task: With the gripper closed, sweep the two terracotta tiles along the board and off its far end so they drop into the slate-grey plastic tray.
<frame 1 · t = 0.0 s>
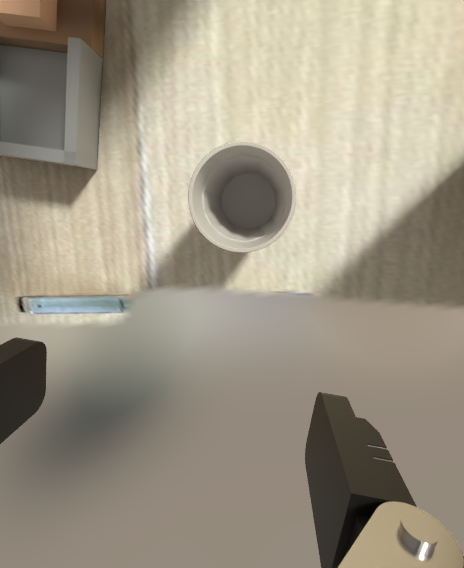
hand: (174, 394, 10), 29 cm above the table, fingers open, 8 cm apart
cup: (249, 201, 37), on the table
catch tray: (46, 108, 37), on the table
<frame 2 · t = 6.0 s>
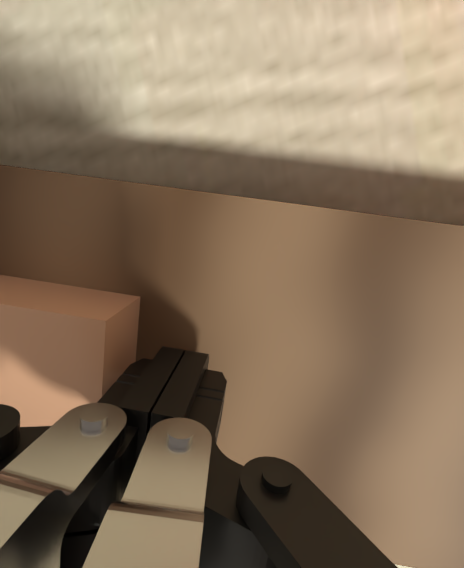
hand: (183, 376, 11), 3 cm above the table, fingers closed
tile a: (64, 355, 12), point 2 cm above the table, touching board, gripper
board: (186, 344, 14), on the table
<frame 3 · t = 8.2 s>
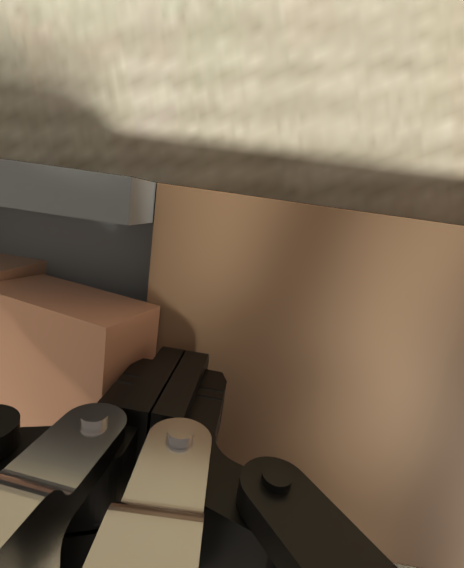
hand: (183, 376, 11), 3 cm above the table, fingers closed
tile a: (94, 355, 12), point 2 cm above the table, tilted 16°, touching board, gripper, tile b
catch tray: (34, 316, 15), on the table
board: (450, 386, 14), on the table
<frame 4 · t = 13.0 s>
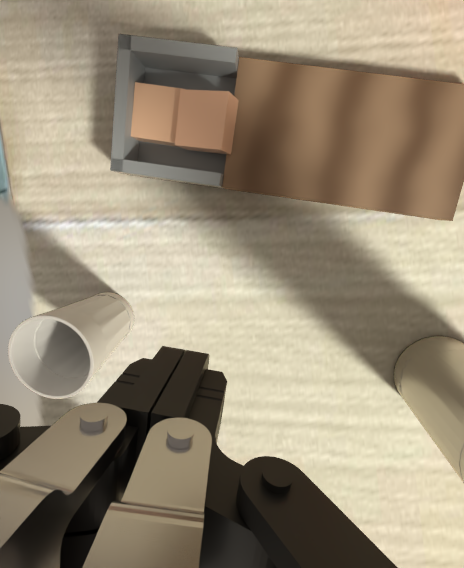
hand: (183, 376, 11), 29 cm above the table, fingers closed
tile a: (211, 126, 35), point 2 cm above the table, tilted 16°, touching board, tile b
cup: (110, 316, 43), on the table
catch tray: (181, 123, 37), on the table
board: (342, 145, 36), on the table
tile b: (164, 119, 37), resting on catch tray, touching tile a
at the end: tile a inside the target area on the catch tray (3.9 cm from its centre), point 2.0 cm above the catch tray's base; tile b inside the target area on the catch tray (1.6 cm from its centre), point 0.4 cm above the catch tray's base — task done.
